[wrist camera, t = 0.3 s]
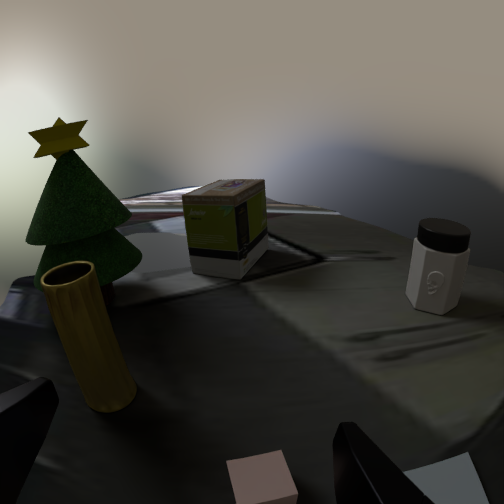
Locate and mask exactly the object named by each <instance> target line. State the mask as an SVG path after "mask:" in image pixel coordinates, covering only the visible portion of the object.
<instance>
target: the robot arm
mask: <svg viewBox="0 0 504 504" xmlns="http://www.w3.org/2000/svg"><path fill="white" fill-rule="evenodd" d="M58 403H59V398H58V395H57V392H56V390H55V387H54V384H53V382H52V381H51V380H50V379H47V378H44V377H39V378H37V379H35V380H32V381H30V382H28V383H25V384H23V385H21V386H18V387H16V388H14V389H11V390H9V391H7V392H4V393H2V394H0V504H16V501H17V499H18V497H19V494H20V492H21V490H22V487H23V485H24V483H25V480H26V478H27V476H28V474H29V472H30V469H31V467H32V465H33V463H34V461H35V459H36V457H37V454H38V452H39V450H40V448H41V446H42V444H43V442H44V440H45V438H46V435H47V433H48V430H49V427H50V425H51V422H52V419H53V417H54V414H55V412H56V409H57V406H58ZM333 465H334V488H335V495H336V501H337V504H435V503H434V502H433V501H432V500H430V499H429V498H428V497H427V496H426V495H424V493H423V492H422V491H421V490H420V489H419V488H418V487H417V486H416V485H415V484H414V483H413V482H412V481H411V480H410V479H409V478H408V477H407V476H406V475H405V474H404V473H403V472H402V471H401V470H400V469H399V468H398V467H397V466H396V465H395V464H394V463H393V462H392V461H391V460H390V459H389V458H388V457H387V456H386V455H385V454H384V453H383V452H382V451H381V450H380V448H379V447H378V446H377V445H376V444H375V443H374V442H373V441H372V440H371V439H370V438H369V437H368V436H367V435H366V434H365V433H364V432H363V431H362V430H361V429H360V428H359V427H358V425H357V424H356V423H354V422H342V423H340V424H339V426H338V429H337V431H336V434H335V437H334V439H333Z"/></svg>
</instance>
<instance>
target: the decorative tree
mask: <svg viewBox="0 0 504 504" xmlns="http://www.w3.org/2000/svg"><path fill="white" fill-rule="evenodd" d="M87 121H88V120H85V121H79V122H74V123H68V124H66V123H65V122H64V121H63V120H61V119H60V118H58V119H57V121H56V122H55V124H54V125H53V127H49V128H45V129H40V130H36V131H32V132H29V134H30V135H31V136H32V137H33V138H34V139H35V140H36V141H37V142H38V143H39V144H40V145H41V146H40V147H39V149H38V151H37V152H36V154H35V156H34V158H38V157H43V156H47V155H52V156H53V157H54V158H55V159H56V163H55V165H54V167H53V169H52V171H51V174H50V176H49V178H48V181H47V183H46V185H45V188H44V190H43V193H42V195H41V198H40V200H39V203H38V205H37V208H36V211H35V213H34V216H33V219H32V222H31V225H30V228H29V231H28V234H27V237H26V242H27V243H28V244H31V245H46V247H45V250H44V253H43V255H42V258H41V261H40V264H39V266H38V269H37V272H36V275H35V278H34V285H35V287H36V288H37V289H38V290H40V291H42V292H43V289H42V287H41V282H40V281H41V277H42V276H43V275H44V274H45V273H46V272H48V271H49V270H51V269H53V268H54V267H57V266H59V265H62V264H65V263H69V262H74V261H89V262H91V263H93V264H94V267H95V271H96V275H97V279H98V282H99V286H100V289H101V293H102V296H103V300H104V303H105V306H106V305H108V304H110V303H111V302H112V301H113V300H114V298H115V292H114V288H113V284H112V282H113V281H115V280H117V279H119V278H121V277H123V276H124V275H126V274H128V273H129V272H131V271H132V270H133V269H134V268H135V267H136V266H137V265H138V264H139V263H140V262H141V259H142V253H141V251H140V250H139V249H138V248H136V247H135V246H134V245H133V244H132V243H130V242H129V241H128V240H127V239H126V238H125V237H124V236H123V235H121V234H120V233H119V232H118V231H117V230H116V229H115V228H114V227H117V226H119V225H121V224H122V223H124V222H126V221H127V220H128V219H129V218H130V217H131V216H132V213H131V212H130V211H129V210H128V209H127V208H126V207H125V206H124V205H123V204H122V203H121V202H120V201H119V199H117V197H116V196H115V195H114V194H113V193H112V192H111V191H110V190H109V189H108V188H107V187H106V186H105V185H104V183H103V182H102V181H101V180H100V179H99V178H98V177H97V176H96V175H95V174H94V173H93V171H92V170H91V169H90V168H89V167H88V166H87V165H86V164H85V163H84V161H83V160H82V159H81V158H80V157H79V156H78V155H77V154H76V152H75V151H74V149H79V148H84V147H87V146H89V144H88V143H86V141H84V140H83V139H82V138H81V137H80V136H79V133H80V132H81V130H82V128H83V127H84V125H85V124H86V122H87Z"/></svg>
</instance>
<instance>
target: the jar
mask: <svg viewBox="0 0 504 504" xmlns="http://www.w3.org/2000/svg"><path fill="white" fill-rule="evenodd" d="M470 234H471V232H470V230H469V229H468V228H467V227H466V226H464V225H462V224H460V223H457V222H454V221H450V220H445V219H437V218H427V219H423V220H421V221H420V222H419V227H418V235H417V238H415V239H414V245H413V252H412V259H411V265H410V271H409V277H408V283H407V288H406V295H407V297H408V299H409V300H410V302H411V304H412V305H413V307H414V309H417V310H421V311H425V312H430V313H434V314H438V315H443V314H445V313H447V312H448V311H450V310H451V309H453V308H455V307H456V306H457V304H458V301H459V297H460V293H461V290H462V286H463V282H464V277H465V273H466V269H467V264H468V259H469V254H470V249H469V248H468V245H469V240H470Z"/></svg>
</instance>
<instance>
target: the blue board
mask: <svg viewBox="0 0 504 504" xmlns="http://www.w3.org/2000/svg"><path fill="white" fill-rule="evenodd" d="M403 473H404V474H405V475H406V476H407V477H408V478H409V479H410V480H411V481H412V482H413V483H414V484H415V485H416V486H417V487H418V488H419V489H420V490H421V491H422V492H423V493H424V495H426V496H427V497H428V498H429V499H430V500H432V501H433V502H434V503H435V504H489V502H488V500H487V497H486V494H485V492H484V489H483V487H482V484H481V482H480V479H479V477H478V475H477V472H476V470H475V468H474V465H473V463H472V461H471V458H470V456H469V454H468V452H467V453H464V454H461V455H458V456H456V457H453V458H450V459H447V460H444V461H441V462H438V463H435V464H431V465H428V466H425V467H421V468H417V469H414V470H410V471H406V472H403Z"/></svg>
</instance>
